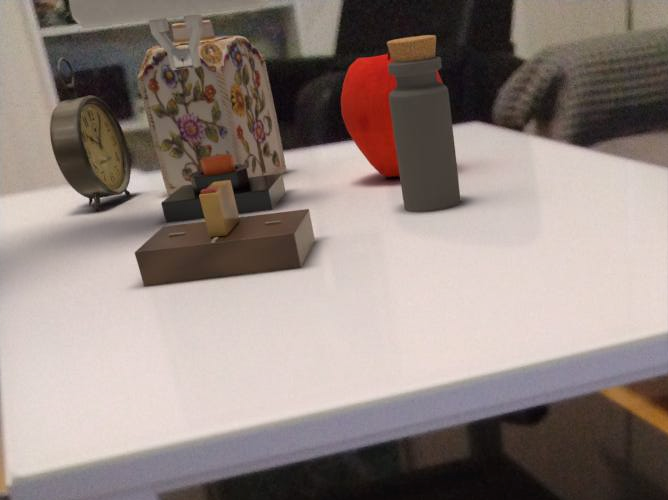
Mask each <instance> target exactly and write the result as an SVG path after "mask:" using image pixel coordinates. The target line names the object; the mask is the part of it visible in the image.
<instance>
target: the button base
mask: <svg viewBox="0 0 668 500" xmlns="http://www.w3.org/2000/svg"><path fill="white" fill-rule="evenodd" d="M235 168H236V169H235V170H232V171H229V172H224V173H218V174H208V175H204V174H203V170H200V171H197V172H194V173H192V174H191V175H190V179H191V183H192V184H191V185H183V186H181V187H180V188H179V189H178V190H176V191H175V192H174V193H173V194H171V195H168V196H167V197H166V198H165V199H164V200H162V201H161V203H160V205H161V208H162V212H163V216H164V219H165V224H166V223H167V224H169V223H177V222H186V221H193V220H201V219H205V218H204V214H203V210H202V206H201V201H200V197H199V195H200V194H201V192H200V191H201V190H203V189H207V188H208V187H209V186H210V185H211V184H212V183H213V182H218V181H226V180H230V181H231V184H232V189H233V193H234V197H235V202H236V206H237V211H238V215H241V214H242V215H243V214H250V213H251V214H252V213H260V212H268V211H273V210H274V209H275V208H276V206H277V205H278V204H279V202H281V199H282V198H283V197H284V196H285V195H286V191H287V190H286V187H285V181H284V176H283V174H273V175H265V176H256V177H251V172H250V168H249V166H248V165H244V164H235Z"/></svg>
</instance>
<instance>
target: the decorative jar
mask: <svg viewBox="0 0 668 500" xmlns="http://www.w3.org/2000/svg"><path fill="white" fill-rule="evenodd" d="M203 25H204V28H203V32H202V36H201V40H200V43H199V47H198V52H199V56H200V61H201V66H200V67H195V68H186V69H179V70H172V69H171V67H170V63H169V59H168V55H167V51H165V50H164V49H163V47H162V46H161V45H160V44H157V45H154V46H151V48H149V49H147V51H146V52H145V56H144V58H143V61H142V62H141V66H140V67H139V73H138V75H137V77H136V79H137V83H138V86H139V90H140V95H141V98H142V101H143V107H144V111H145V114H146V119H147V122H148V127H149V131H150V135H151V139H152V142H153V146H154V150H155V154H156V158H157V162H158V166H159V169H160V172H161V176H162V180H163V184H164V187H165V189H166V194H167V195H168V196H170V195H171V194H173V193H174V192H175V191H176V190H178V189H179V188H180V187H181V186H183V185H191V184H192V183H191V179H190V175H191V174H192V173H194V172H197V171H200V170H203V169H202V165H201V161H200V160H201V159H202V158H205V157H209V156H214V155H222V154H231V155H233V160H234V164H244V165H248V166H249V168H250V172H251V177H256V176H265V175H273V174H282V175H283V174H286V173H287V166H286V160H285V154H284V149H283V143H282V137H281V133H280V127H279V123H278V116H277V112H276V107H275V103H274V97H273V92H272V87H271V83H270V79H269V74H268V69H267V64H266V59H265V56H263V55H262V54H261V52H260V51H259V49H257V47H255V46H254V44H252V43H251V41H249V40H248V38H247V37H245V36H242V35H238V34H233V35H215V32H214V28H213V23H212V20H210V19H206V20H204V19H203ZM171 30H172V36H173V41H171V42H172V43H173V45H174V46H175V47H176V49H185V48H188V45H189V41H190V36H191V32H192V29H187V28H186V25H185V22H178V23H172V24H171ZM176 49H175V50H176Z"/></svg>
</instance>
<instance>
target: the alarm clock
mask: <svg viewBox="0 0 668 500" xmlns="http://www.w3.org/2000/svg"><path fill="white" fill-rule="evenodd" d="M63 61H64V63H65V64H66V65H67V67H68V69H69V71H70V75H71V83H68V84H67V83H66V82H65V81H64V78H63V75H62V68H61V67H62V62H63ZM57 71H58V72H57V73H58V77H59V79H60V82H61V84H62V85H63V86H64V88H65V89H66V90H67V92H68V97H69V99H66V100H63V101H60V102H59V103H58V104H57V105H55V107H54V109H53V111H52V113H51V115H50V121H49V137H50V143H51V149H52V152H53V155H54V159H55V162H56V165H57V166H58V168H59V170H60V171H61V172H60V173H61V174H62V176H63V177H64V179H65V181H66V182H67V183H68V184H69V186H70V187H71V189H73V190H74V191H75V192H77V193H78V194H80V196H83V197H84V198H87V199H88V206H89V207H91V205H92V203H93V202H94V205H95V207H94V212H95V213H97V212H100V211H101V208H100V204H101V199H102V198H108V197H112V196H120V195H122V194H123V193H124V195H125V196H127V197H129V196H131V192H130V191H129V190H128V187H129V184H130V180H131V173H132V164H131V163H132V162H131V156H130V151H129V146H128V143H127V139H126V137H125V133H124V130H123V128H122V126H121V124H120V122H119V120H118V118H117V117H116V114H115V113H114V111H113V110H112V109H111V108H110V106H109V105H108V104H107V103H106V102H105V101H104V100H102V99H101V98H100V97H98V96H95V95H90V94H89V95H86V96H82V97H79V96H78V94H77V92H76V91H75V90H76V89H75V81H76V80H75V75H74V71H73V68H72V66H71V63H70V61H68V59H67V58H65V57H64V56H62V57H60V58H59V59H58V61H57Z"/></svg>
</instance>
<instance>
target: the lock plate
mask: <svg viewBox="0 0 668 500" xmlns="http://www.w3.org/2000/svg"><path fill="white" fill-rule="evenodd" d="M239 219H240V221H239V222H238V223H237V224H236V225H235V227H234V228H233V229H232V230H231V231H230V232H229V234H228V235H227V236H219V237H209V234H208V230H207V226H206V222H205V221H198V222H197V221H195V222H189V223H182V224H181V223H180V224H172V225H163V226H162V227H161V228H160V229H158V230H157V232H155V233H154V234H153V235H152V236H151V237H150V238H149V239H148V240H146V241H145V242H144V243H143V244H142V245H141V246H140V247H138V249H136V250H135V251H134V256H135V259H136V262H137V266H138V270H139V273H140V277H141V281H142V283H143V286H144V287H150V286H158V285H167V284H168V285H169V284H175V283H184V282H194V281H201V280H209V279H218V278H227V277H235V276H244V275H253V274H262V273H269V272H277V271H285V270H286V271H287V270H293V269H302V267H303V265H304V264H305V261H306V259H307V257H308V255H309V254H310V252H311V250H312V249H313V246H314V244H315V243H316V239H315V238H316V237H315V234H314V229H313V228H314V227H313V223H312V218H311V213H310V209H309V208H305V209H295V210H288V211H279V212H272V213H264V214H263V213H262V214H255V215H247V216H239Z"/></svg>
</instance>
